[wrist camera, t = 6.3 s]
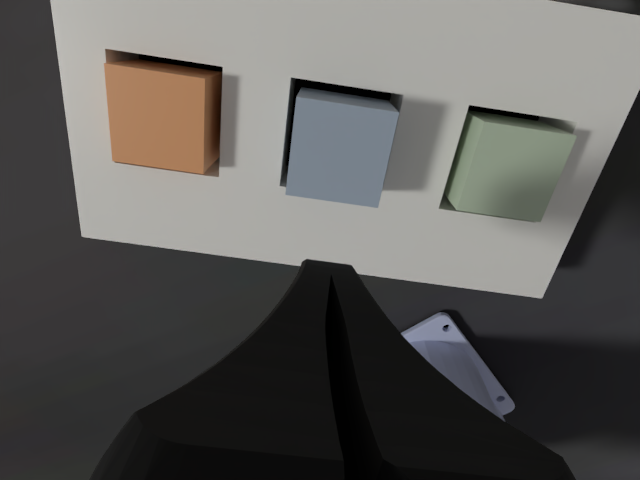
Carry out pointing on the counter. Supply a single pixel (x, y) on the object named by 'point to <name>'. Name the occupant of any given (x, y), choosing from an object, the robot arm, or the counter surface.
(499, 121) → the sage green button
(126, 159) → the terracotta button
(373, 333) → the robot arm
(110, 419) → the counter surface
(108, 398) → the counter surface
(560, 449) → the counter surface
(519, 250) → the button panel
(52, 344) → the counter surface
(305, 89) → the slate blue button
